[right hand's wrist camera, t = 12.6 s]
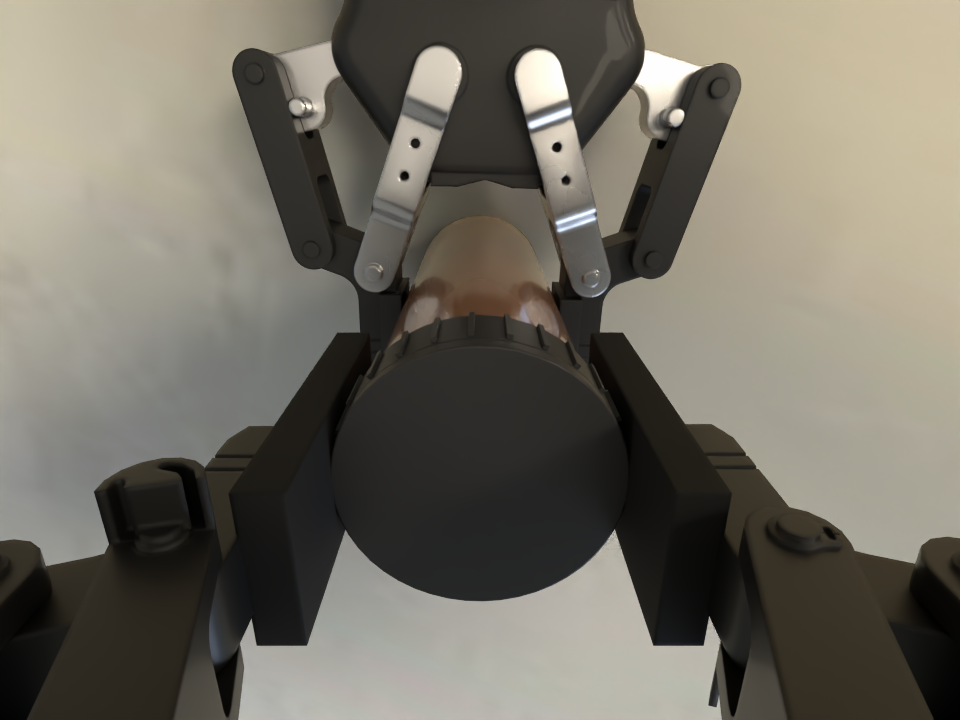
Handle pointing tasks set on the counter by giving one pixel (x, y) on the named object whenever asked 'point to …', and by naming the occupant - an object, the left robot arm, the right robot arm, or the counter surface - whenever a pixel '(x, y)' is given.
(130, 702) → the right robot arm
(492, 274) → the jar
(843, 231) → the counter surface
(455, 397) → the lid
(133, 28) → the counter surface
